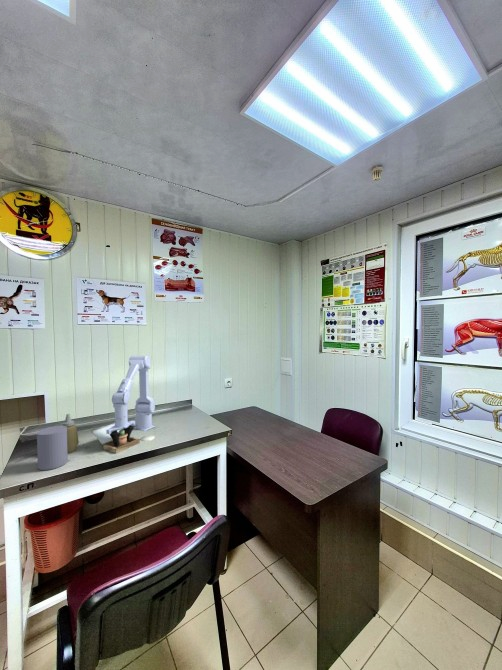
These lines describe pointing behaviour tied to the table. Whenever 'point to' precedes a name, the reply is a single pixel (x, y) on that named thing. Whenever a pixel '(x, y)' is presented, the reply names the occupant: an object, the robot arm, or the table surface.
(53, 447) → the container
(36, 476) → the table surface
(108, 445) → the cold frame
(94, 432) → the lid
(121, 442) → the clay pot
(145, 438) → the saucer
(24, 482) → the table surface
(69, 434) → the squeeze bottle
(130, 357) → the robot arm
